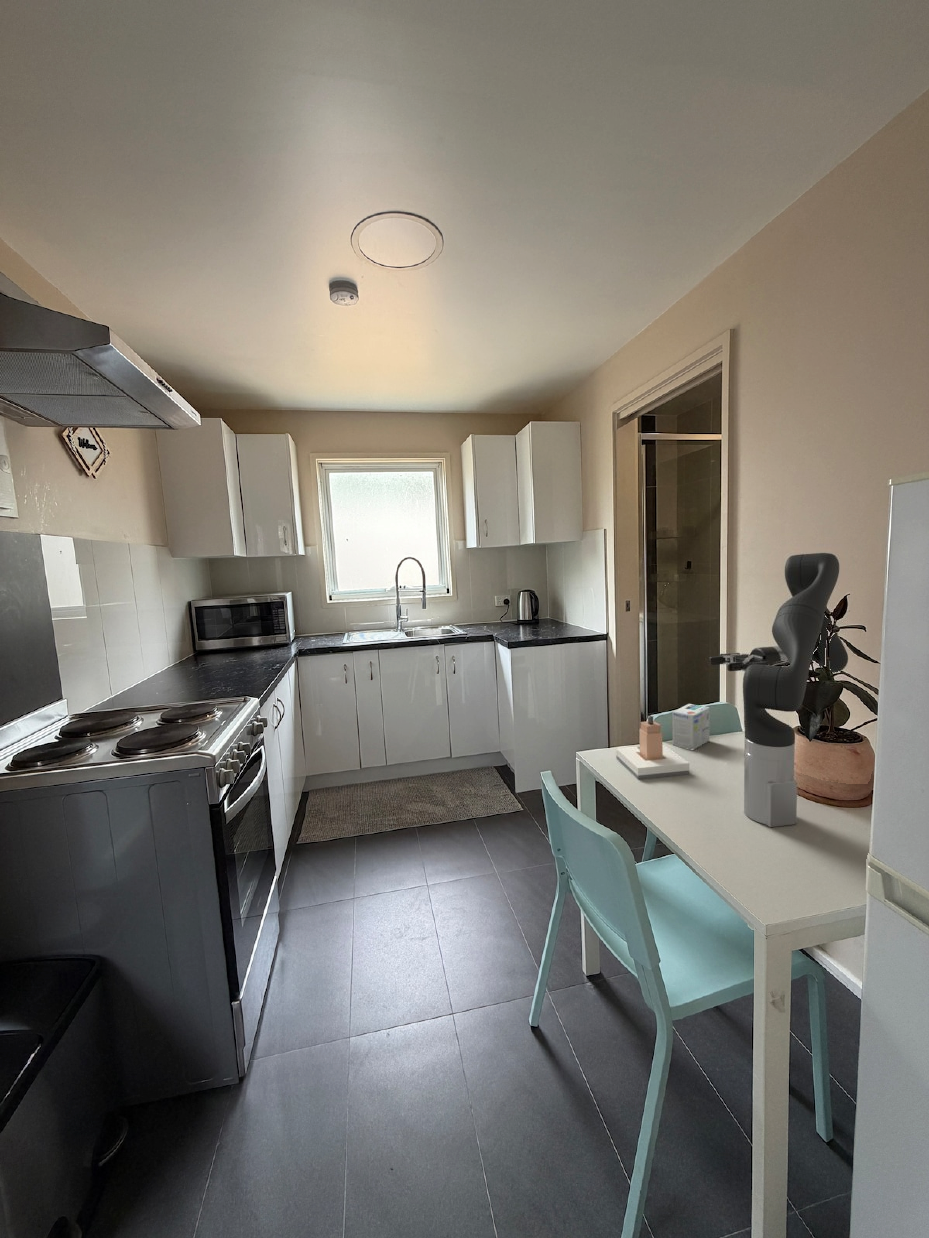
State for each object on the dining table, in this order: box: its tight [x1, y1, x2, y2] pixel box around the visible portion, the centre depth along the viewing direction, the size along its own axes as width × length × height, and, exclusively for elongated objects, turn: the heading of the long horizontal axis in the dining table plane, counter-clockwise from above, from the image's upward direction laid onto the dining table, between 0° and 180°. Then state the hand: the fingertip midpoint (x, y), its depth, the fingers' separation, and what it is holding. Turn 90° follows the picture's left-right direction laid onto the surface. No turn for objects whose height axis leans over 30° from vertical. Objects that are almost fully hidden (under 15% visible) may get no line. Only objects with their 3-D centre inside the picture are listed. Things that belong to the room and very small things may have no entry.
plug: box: [638, 715, 664, 761], centre depth 138 cm, size 4×4×13 cm
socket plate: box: [615, 743, 690, 780], centre depth 139 cm, size 14×14×3 cm
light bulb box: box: [672, 703, 710, 750], centre depth 153 cm, size 11×7×11 cm, turn 130°
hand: (718, 664), depth 142 cm, fingers open, 8 cm apart
